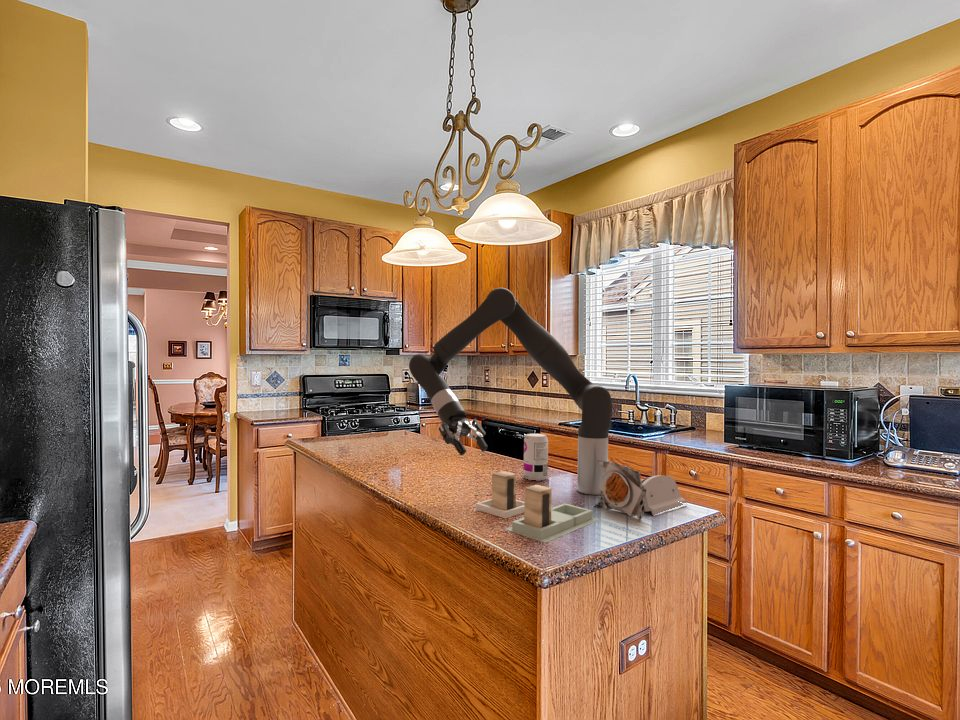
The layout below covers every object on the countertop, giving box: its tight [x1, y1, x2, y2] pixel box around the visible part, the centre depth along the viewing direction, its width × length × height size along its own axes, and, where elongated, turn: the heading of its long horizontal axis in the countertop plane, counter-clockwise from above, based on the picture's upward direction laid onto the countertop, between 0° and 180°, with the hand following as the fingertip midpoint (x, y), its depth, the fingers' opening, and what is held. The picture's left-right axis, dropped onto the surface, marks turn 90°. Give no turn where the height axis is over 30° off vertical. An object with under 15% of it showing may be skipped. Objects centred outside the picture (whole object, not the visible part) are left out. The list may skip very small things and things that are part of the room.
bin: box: [475, 498, 525, 519], centre depth 134 cm, size 11×11×2 cm
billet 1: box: [491, 470, 517, 511], centre depth 134 cm, size 4×5×10 cm
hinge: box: [640, 474, 687, 515], centre depth 141 cm, size 17×5×10 cm, turn 127°
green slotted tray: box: [504, 503, 601, 544], centre depth 123 cm, size 23×12×3 cm, turn 136°
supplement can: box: [522, 432, 549, 482], centre depth 173 cm, size 8×8×15 cm
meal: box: [593, 460, 646, 521], centre depth 136 cm, size 15×4×13 cm, turn 35°
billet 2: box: [523, 484, 553, 528], centre depth 118 cm, size 4×5×10 cm
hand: (474, 451), depth 142 cm, fingers open, 8 cm apart
